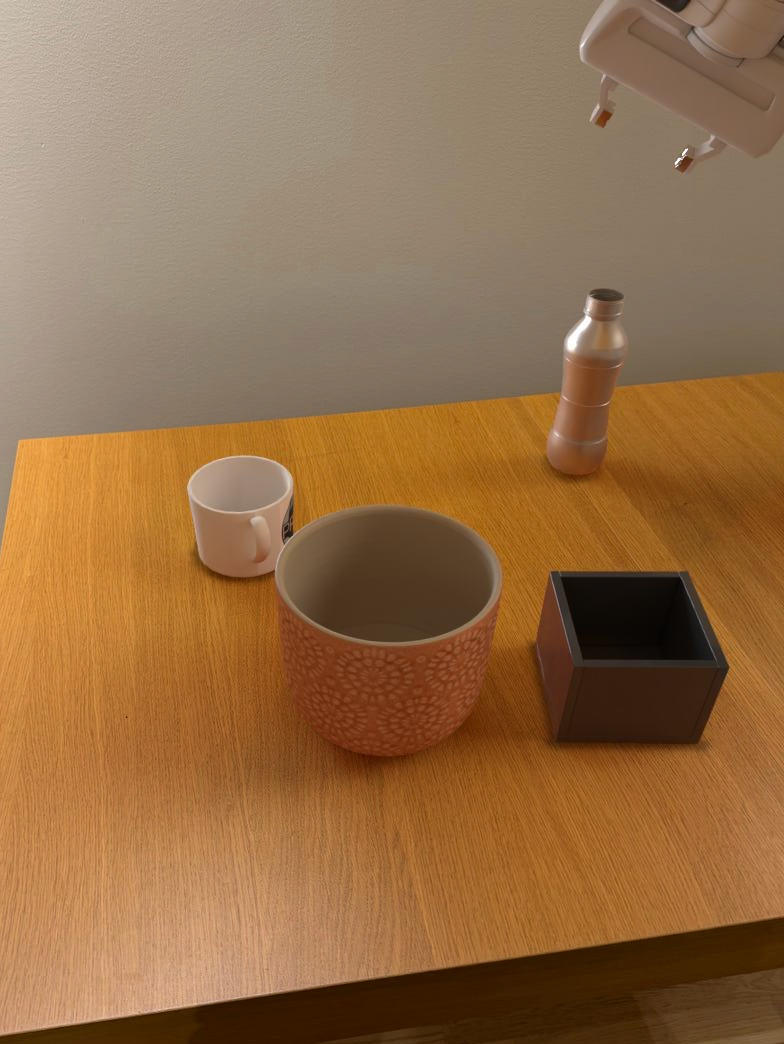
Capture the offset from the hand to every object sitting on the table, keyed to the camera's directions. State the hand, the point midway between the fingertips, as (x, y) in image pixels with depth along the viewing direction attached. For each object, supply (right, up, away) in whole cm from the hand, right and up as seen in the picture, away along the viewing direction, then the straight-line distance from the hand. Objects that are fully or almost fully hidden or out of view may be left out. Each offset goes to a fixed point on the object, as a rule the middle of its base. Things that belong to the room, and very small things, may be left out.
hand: (639, 145), depth 89 cm
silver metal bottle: (-1, -28, +17) cm, 33 cm away
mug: (-38, -39, +7) cm, 55 cm away
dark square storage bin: (-6, -52, -9) cm, 53 cm away
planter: (-26, -54, -9) cm, 60 cm away
